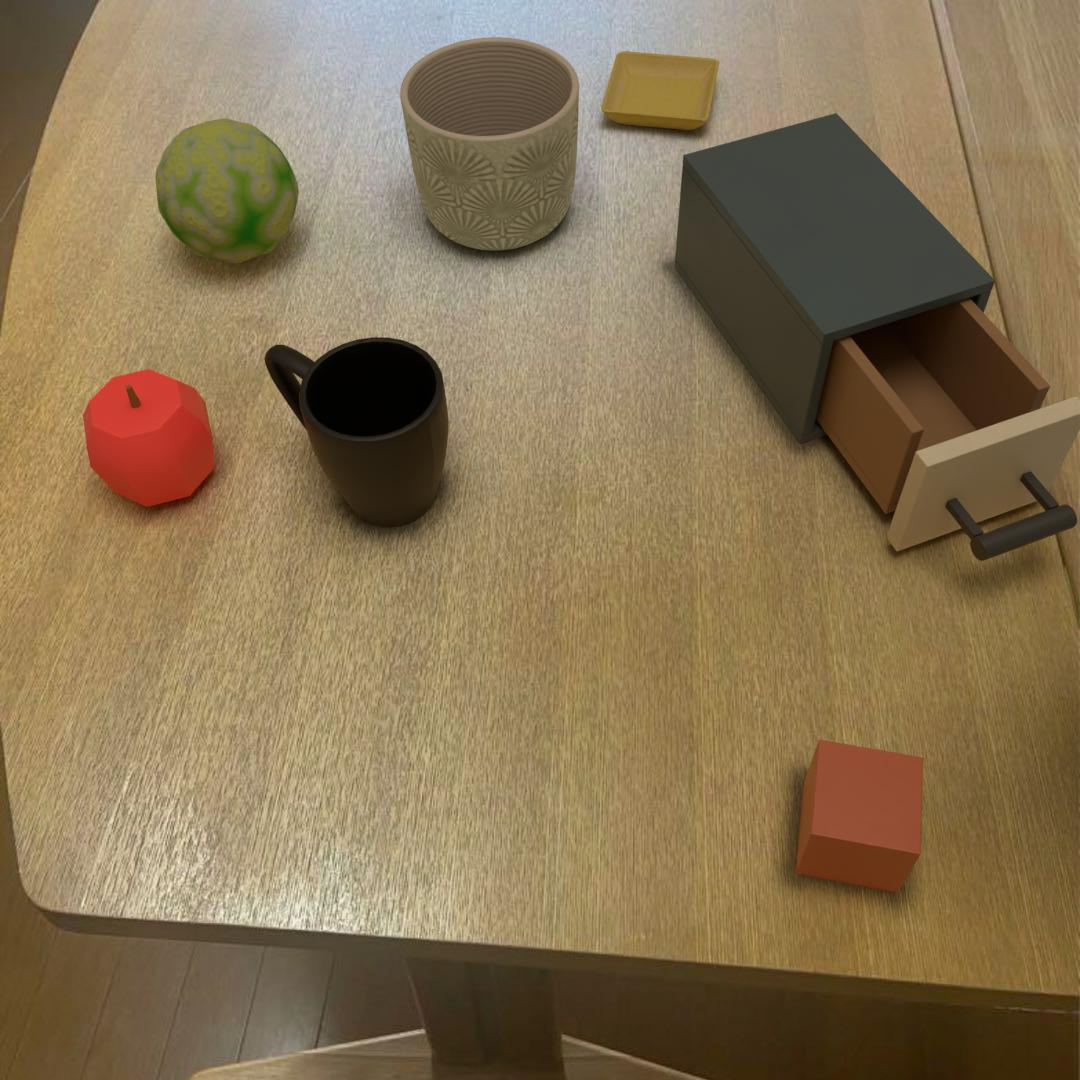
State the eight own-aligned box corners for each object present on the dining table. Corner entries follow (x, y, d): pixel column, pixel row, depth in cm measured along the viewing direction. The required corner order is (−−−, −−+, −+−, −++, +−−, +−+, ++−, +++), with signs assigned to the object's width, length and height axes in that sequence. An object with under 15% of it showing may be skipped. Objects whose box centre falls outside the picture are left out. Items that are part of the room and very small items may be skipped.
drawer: (1088, 548, 70) (1139, 462, 63) (935, 606, 67) (971, 522, 61) (891, 314, 82) (916, 222, 75) (755, 357, 80) (770, 266, 73)
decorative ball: (243, 310, 85) (208, 194, 77) (150, 256, 89) (107, 141, 81) (337, 236, 90) (313, 120, 82) (244, 189, 93) (213, 73, 85)
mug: (340, 401, 80) (314, 293, 72) (484, 478, 75) (472, 371, 68) (256, 480, 76) (219, 374, 68) (402, 566, 71) (380, 463, 64)
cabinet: (955, 392, 78) (995, 280, 71) (799, 444, 76) (824, 334, 68) (814, 225, 89) (836, 112, 81) (674, 267, 87) (682, 154, 79)
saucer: (706, 142, 95) (708, 119, 94) (599, 132, 97) (599, 109, 95) (718, 81, 100) (720, 58, 99) (617, 72, 102) (617, 49, 100)
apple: (81, 469, 77) (35, 382, 70) (189, 409, 80) (155, 320, 73) (141, 544, 73) (98, 460, 66) (252, 478, 76) (222, 391, 69)
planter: (581, 266, 87) (581, 136, 78) (412, 270, 87) (393, 142, 78) (577, 162, 94) (577, 33, 86) (421, 166, 95) (405, 38, 86)
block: (901, 800, 62) (923, 757, 57) (897, 893, 59) (921, 854, 55) (803, 782, 62) (818, 738, 58) (795, 873, 59) (810, 834, 55)
